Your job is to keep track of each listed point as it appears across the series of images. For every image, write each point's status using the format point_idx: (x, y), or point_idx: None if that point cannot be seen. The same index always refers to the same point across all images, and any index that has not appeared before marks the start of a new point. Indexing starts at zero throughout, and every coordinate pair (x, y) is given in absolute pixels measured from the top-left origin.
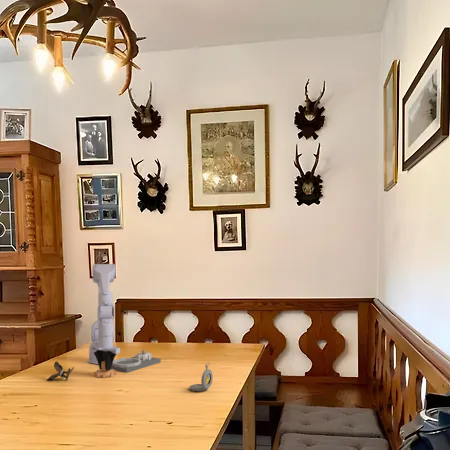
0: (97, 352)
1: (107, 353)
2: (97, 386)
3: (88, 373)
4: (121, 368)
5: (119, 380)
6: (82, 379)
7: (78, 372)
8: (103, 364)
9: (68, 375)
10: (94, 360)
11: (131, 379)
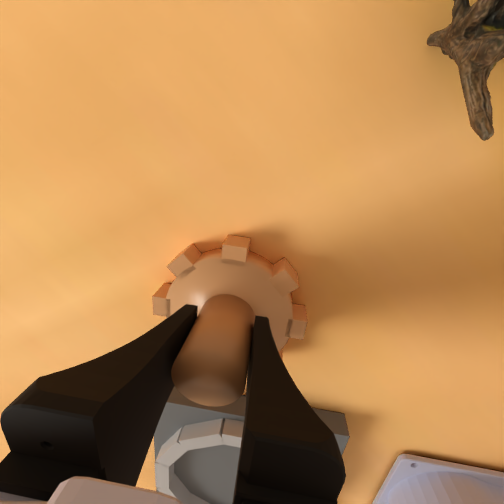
0: (271, 466)
1: (36, 435)
2: (50, 36)
3: (374, 299)
4: (197, 404)
5: (64, 244)
6: (311, 149)
7: (471, 294)
8: (201, 333)
9: (452, 40)
10: (487, 493)
11: (31, 287)
